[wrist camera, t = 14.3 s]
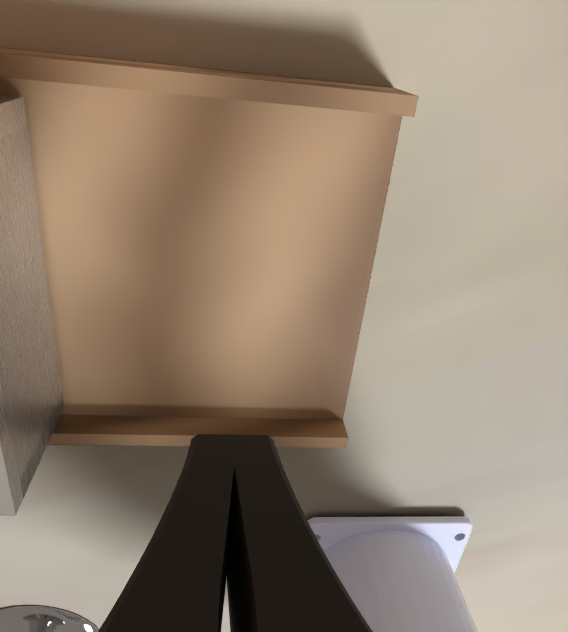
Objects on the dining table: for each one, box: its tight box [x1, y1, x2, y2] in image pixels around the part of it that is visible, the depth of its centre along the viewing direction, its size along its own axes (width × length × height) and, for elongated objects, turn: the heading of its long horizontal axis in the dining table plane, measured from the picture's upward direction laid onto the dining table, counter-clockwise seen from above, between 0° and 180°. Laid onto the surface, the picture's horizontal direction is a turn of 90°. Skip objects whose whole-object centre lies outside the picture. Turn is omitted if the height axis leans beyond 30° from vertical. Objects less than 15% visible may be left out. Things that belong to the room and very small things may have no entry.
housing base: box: [0, 47, 418, 448], centre depth 16 cm, size 19×12×3 cm, turn 84°
